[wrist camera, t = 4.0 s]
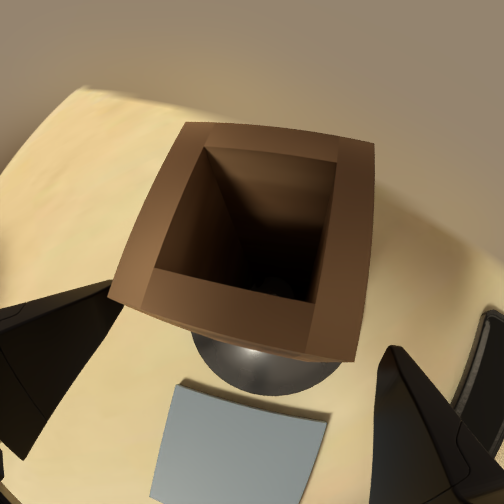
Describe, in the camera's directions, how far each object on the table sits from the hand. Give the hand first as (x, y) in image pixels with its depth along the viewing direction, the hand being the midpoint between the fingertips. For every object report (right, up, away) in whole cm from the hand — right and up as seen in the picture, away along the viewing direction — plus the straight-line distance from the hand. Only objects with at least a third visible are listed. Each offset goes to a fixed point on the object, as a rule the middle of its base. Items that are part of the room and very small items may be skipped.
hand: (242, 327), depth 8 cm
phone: (+18, -10, +5) cm, 21 cm away
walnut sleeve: (+2, -1, +9) cm, 9 cm away
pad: (-1, -12, +6) cm, 14 cm away
